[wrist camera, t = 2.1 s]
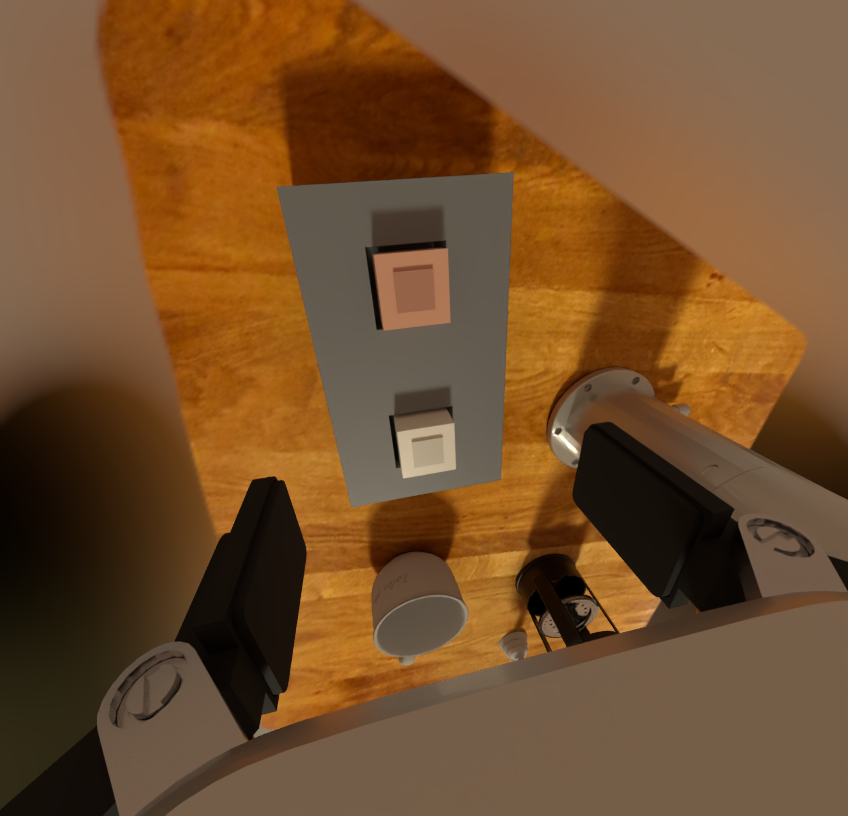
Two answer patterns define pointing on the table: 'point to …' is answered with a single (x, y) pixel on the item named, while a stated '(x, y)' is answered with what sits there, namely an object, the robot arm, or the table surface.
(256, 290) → the table surface
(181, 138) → the table surface
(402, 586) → the teacup
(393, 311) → the key terracotta
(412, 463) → the key ivory
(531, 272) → the table surface
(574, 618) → the french press
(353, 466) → the key console
